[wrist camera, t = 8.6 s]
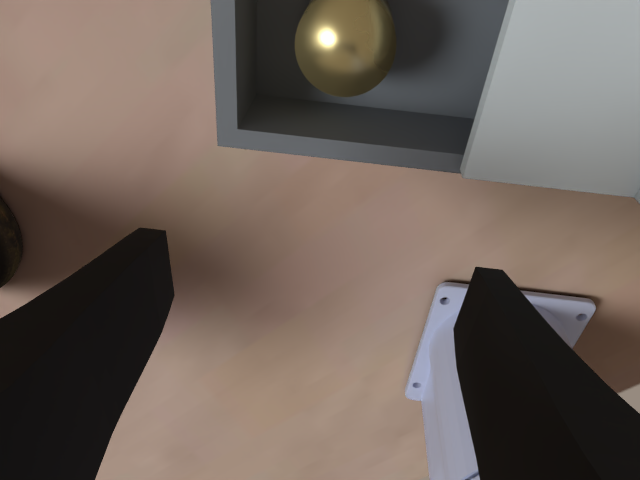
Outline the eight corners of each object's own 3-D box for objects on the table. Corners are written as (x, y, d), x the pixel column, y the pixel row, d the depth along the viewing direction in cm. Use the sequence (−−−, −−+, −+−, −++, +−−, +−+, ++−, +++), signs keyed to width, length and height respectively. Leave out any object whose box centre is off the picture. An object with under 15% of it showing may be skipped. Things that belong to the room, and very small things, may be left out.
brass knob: (385, 77, 18) (387, 102, 16) (301, 68, 18) (292, 91, 16) (400, -18, 16) (405, -4, 14) (306, -28, 16) (297, -15, 14)
